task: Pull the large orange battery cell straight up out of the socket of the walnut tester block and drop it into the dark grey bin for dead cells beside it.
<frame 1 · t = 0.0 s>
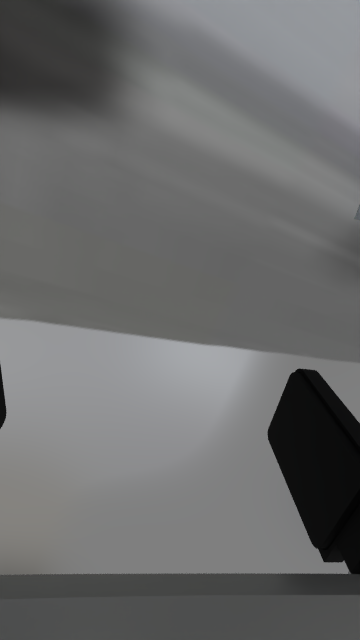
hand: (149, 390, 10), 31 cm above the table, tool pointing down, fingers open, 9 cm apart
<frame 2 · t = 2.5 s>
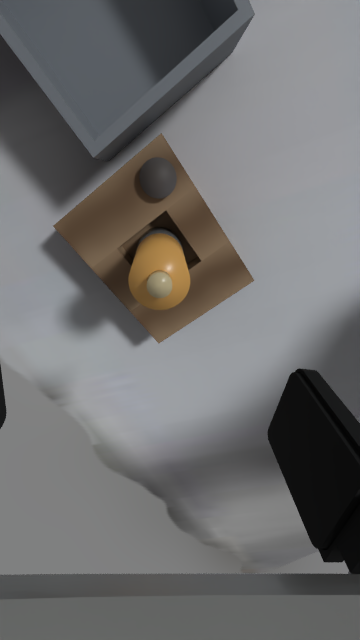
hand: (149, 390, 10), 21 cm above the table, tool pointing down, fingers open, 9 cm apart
cell: (160, 249, 27), point 1 cm above the table, touching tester
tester: (160, 245, 28), on the table
bin: (114, 24, 21), on the table
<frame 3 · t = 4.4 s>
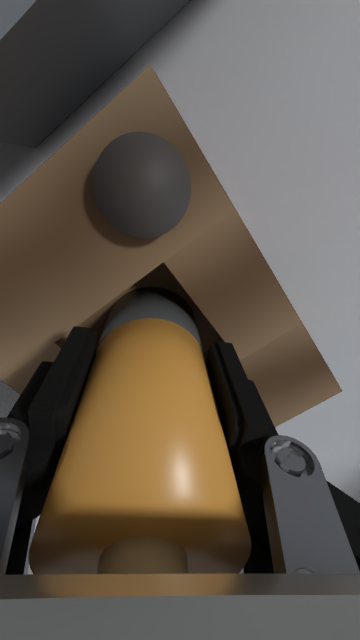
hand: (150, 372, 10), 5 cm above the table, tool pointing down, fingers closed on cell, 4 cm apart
cell: (151, 328, 13), point 1 cm above the table, touching gripper, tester
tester: (152, 314, 15), on the table
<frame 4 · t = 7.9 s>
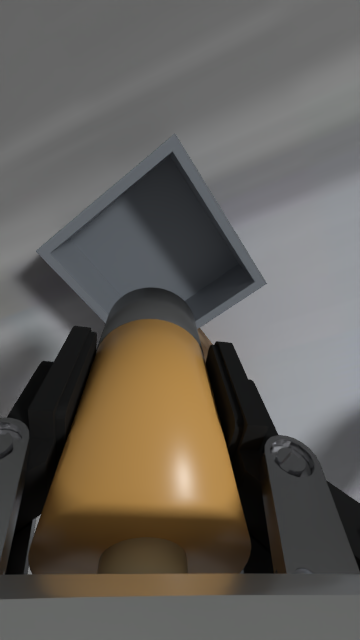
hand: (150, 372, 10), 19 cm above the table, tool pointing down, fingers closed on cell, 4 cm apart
cell: (151, 328, 13), point 16 cm above the table, touching gripper
bin: (157, 249, 27), on the table
when the fingers open (6 cm above the table, at t = 10.0 s): cell drops 2 cm, resting on bin.
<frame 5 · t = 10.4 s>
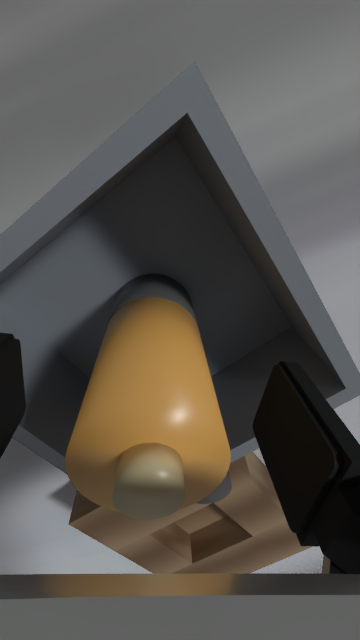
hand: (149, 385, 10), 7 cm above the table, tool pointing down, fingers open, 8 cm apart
cell: (153, 311, 15), point 1 cm above the table, touching bin
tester: (195, 486, 23), on the table
bin: (152, 304, 16), on the table
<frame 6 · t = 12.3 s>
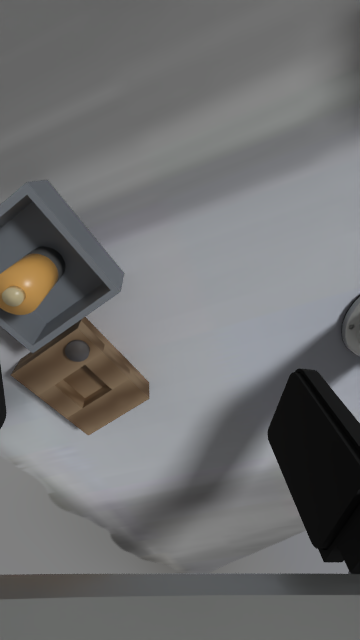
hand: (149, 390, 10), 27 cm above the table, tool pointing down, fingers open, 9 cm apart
cell: (46, 264, 33), point 1 cm above the table, touching bin
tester: (88, 371, 41), on the table
bin: (48, 261, 34), on the table
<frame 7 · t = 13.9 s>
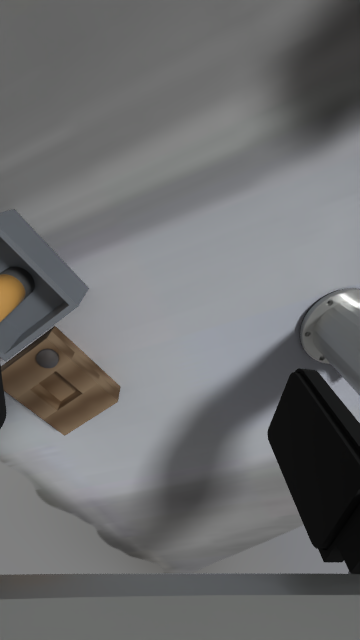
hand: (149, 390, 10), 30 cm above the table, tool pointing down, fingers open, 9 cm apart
cell: (18, 281, 37), point 1 cm above the table, touching bin
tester: (63, 376, 45), on the table
bin: (20, 279, 38), on the table
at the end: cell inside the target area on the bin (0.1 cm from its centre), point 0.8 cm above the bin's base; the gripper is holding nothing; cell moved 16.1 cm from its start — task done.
